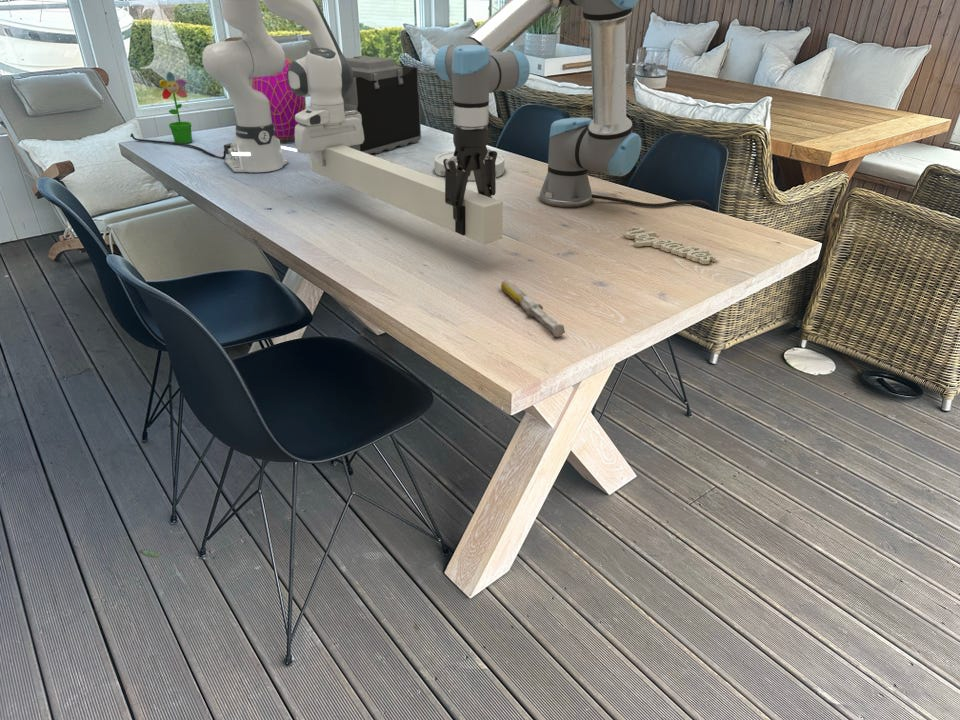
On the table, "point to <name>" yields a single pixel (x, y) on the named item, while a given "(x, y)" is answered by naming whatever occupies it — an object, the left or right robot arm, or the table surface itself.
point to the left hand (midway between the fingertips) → (332, 164)
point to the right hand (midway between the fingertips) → (470, 229)
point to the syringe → (532, 308)
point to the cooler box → (384, 103)
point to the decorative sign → (669, 245)
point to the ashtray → (441, 170)
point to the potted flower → (178, 129)
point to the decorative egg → (281, 102)
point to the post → (410, 191)
